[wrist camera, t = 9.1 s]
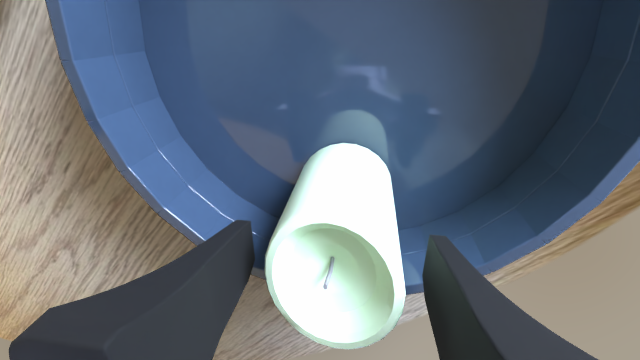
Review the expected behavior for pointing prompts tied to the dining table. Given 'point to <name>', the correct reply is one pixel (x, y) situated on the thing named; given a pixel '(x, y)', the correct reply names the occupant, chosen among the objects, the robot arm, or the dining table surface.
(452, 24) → the bowl
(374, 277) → the candle
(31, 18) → the dining table surface
